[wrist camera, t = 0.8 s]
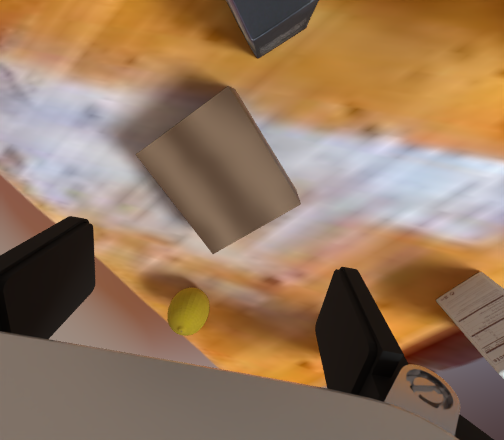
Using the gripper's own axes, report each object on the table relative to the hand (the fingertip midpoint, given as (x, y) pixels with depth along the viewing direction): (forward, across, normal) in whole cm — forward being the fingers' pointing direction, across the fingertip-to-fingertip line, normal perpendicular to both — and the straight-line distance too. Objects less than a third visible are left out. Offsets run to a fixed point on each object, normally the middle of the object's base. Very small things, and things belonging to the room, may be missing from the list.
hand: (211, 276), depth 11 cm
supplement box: (+26, -35, +14) cm, 46 cm away
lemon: (+26, +4, +22) cm, 34 cm away
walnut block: (+26, +3, +2) cm, 27 cm away
